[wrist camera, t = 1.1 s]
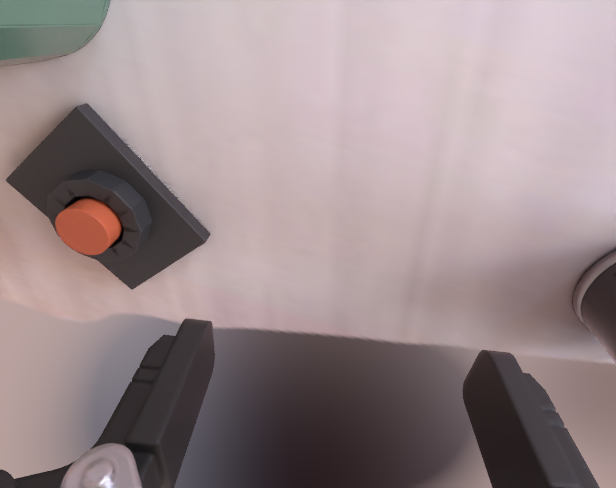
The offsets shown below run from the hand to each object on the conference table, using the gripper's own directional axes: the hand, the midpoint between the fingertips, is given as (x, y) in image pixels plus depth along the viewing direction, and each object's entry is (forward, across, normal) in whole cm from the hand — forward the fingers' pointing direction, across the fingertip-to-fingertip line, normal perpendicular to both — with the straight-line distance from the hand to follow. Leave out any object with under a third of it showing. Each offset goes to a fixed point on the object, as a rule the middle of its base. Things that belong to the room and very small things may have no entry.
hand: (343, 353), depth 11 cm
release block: (+17, -16, -6) cm, 24 cm away
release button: (+14, -17, -5) cm, 22 cm away
